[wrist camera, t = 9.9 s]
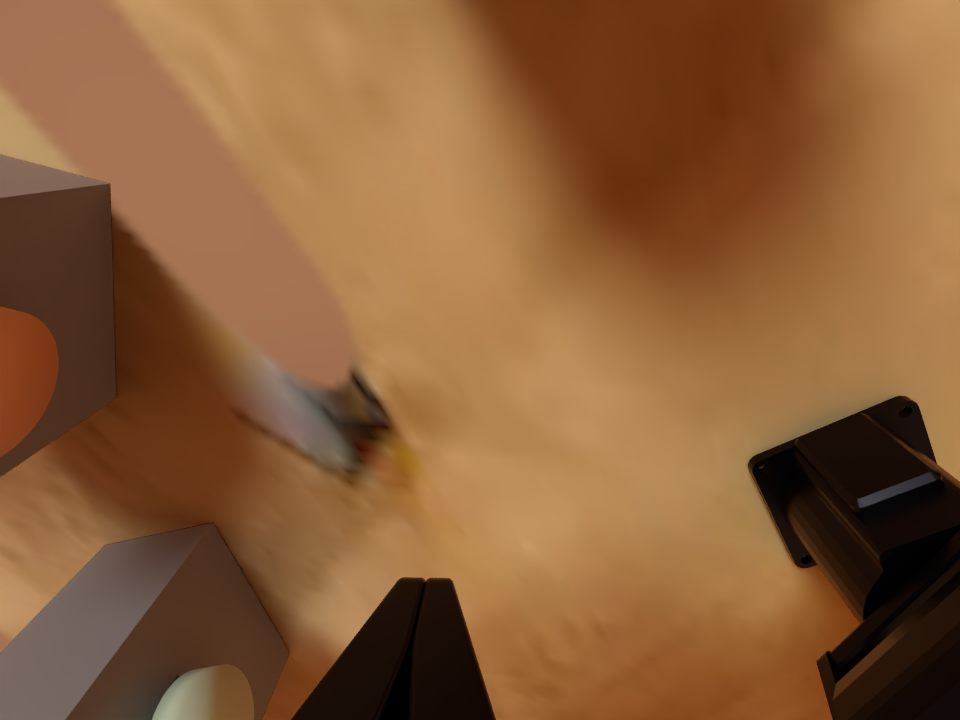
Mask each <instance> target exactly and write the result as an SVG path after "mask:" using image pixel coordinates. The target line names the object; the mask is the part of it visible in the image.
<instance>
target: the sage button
mask: <svg viewBox="0 0 960 720" xmlns="http://www.w3.org/2000/svg"><path fill="white" fill-rule="evenodd" d="M150 720H254V703H253V696H252V691H251V688H250V685H249V683H248V680H247V679H246V677H245V675H244V674H243V673H242V671H241V670H239V669H238V668H237V667H235V666H233V665H229V664H224V665H217V666H211V667H205V668H199V669H193V670H191V671H188V672H186V673H184V674H183V675H181V676H180V677H179V678H178V679H177V680H176V681H175V682H174V683H173V684H172V685H171V686H170V687H169V688H168V690H167V691H166V692H165V694H164V695H163V697H162V699H161V701H160V702H159V704H158V706H157V708H156V711H155V713H154V714H153V715H152V717H151V719H150Z"/></svg>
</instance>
